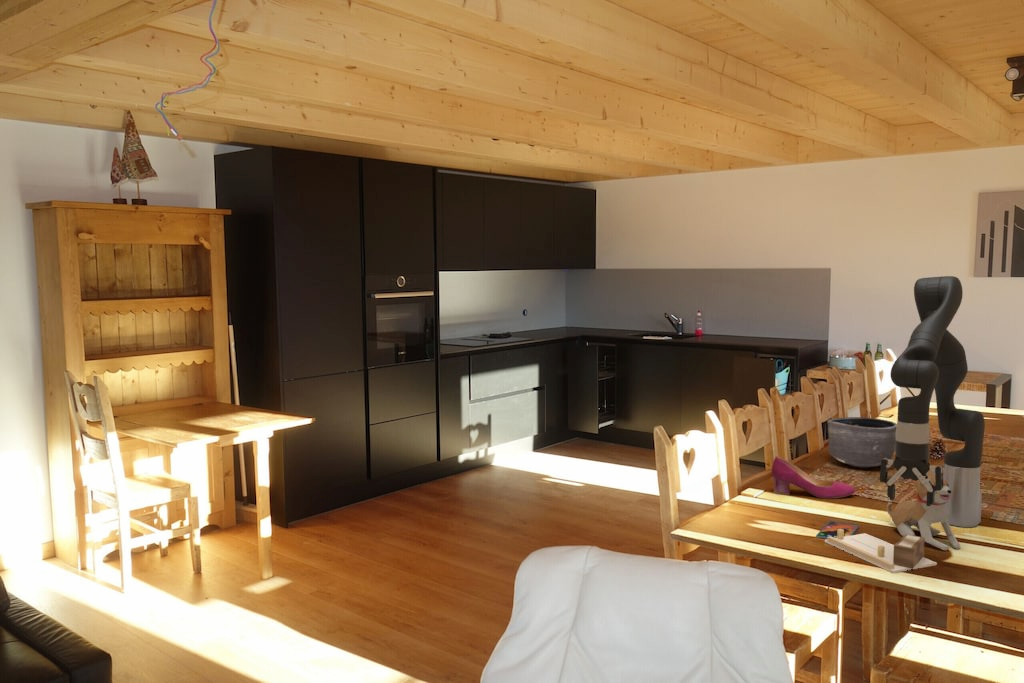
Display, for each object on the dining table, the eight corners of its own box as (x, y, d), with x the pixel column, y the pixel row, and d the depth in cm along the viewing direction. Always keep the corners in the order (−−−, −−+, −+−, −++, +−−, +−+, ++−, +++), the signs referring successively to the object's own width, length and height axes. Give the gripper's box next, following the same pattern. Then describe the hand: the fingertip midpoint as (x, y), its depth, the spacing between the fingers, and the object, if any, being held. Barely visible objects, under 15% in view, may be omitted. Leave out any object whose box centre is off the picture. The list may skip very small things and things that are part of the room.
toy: (937, 552, 211) (939, 478, 209) (872, 524, 233) (874, 457, 231) (968, 548, 213) (971, 474, 211) (901, 521, 236) (903, 454, 234)
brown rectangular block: (905, 552, 210) (905, 533, 209) (924, 555, 207) (924, 536, 206) (893, 564, 201) (893, 545, 201) (912, 568, 199) (913, 549, 198)
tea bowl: (908, 462, 300) (906, 416, 299) (889, 475, 284) (887, 427, 283) (840, 457, 317) (837, 413, 316) (818, 469, 300) (816, 423, 299)
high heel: (854, 494, 264) (855, 457, 263) (855, 502, 256) (856, 464, 255) (772, 488, 273) (772, 452, 272) (770, 495, 265) (771, 458, 264)
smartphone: (815, 535, 224) (829, 520, 236) (815, 540, 224) (829, 524, 236) (846, 540, 219) (859, 523, 231) (846, 545, 219) (859, 528, 231)
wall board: (865, 535, 225) (865, 524, 224) (936, 565, 202) (937, 553, 202) (824, 542, 220) (824, 530, 220) (893, 573, 197) (893, 561, 197)
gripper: (947, 440, 199) (945, 504, 201) (886, 433, 209) (884, 494, 210) (940, 445, 194) (937, 511, 195) (877, 438, 203) (875, 501, 204)
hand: (910, 502), depth 203 cm, fingers open, 8 cm apart
